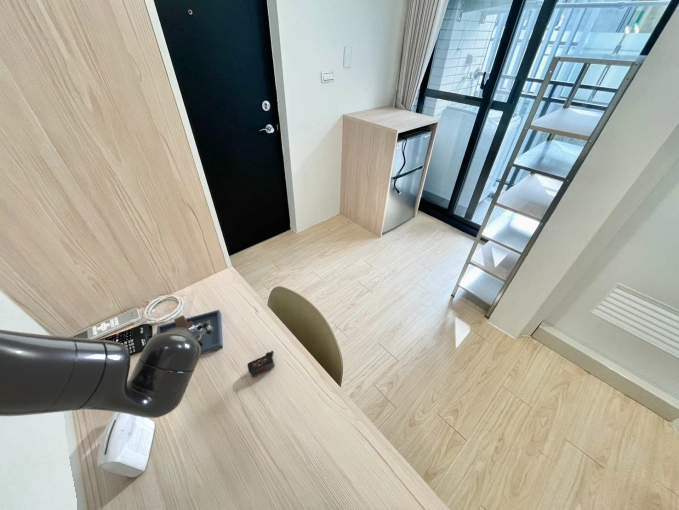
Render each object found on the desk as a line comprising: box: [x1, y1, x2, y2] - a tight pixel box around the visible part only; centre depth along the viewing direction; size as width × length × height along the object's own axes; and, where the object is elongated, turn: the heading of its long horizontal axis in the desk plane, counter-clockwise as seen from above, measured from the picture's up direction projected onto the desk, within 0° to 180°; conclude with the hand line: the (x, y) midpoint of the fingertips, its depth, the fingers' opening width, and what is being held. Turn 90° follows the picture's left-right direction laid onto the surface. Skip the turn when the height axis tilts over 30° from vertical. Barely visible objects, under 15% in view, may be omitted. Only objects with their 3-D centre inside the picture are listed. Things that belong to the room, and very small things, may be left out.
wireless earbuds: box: [246, 350, 276, 378], centre depth 72 cm, size 5×7×3 cm, turn 117°
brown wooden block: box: [173, 314, 203, 346], centre depth 75 cm, size 8×4×7 cm, turn 38°
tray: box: [155, 309, 224, 355], centre depth 78 cm, size 17×12×2 cm
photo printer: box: [96, 412, 156, 478], centre depth 55 cm, size 10×4×12 cm, turn 14°
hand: (181, 337), depth 66 cm, fingers open, 8 cm apart
